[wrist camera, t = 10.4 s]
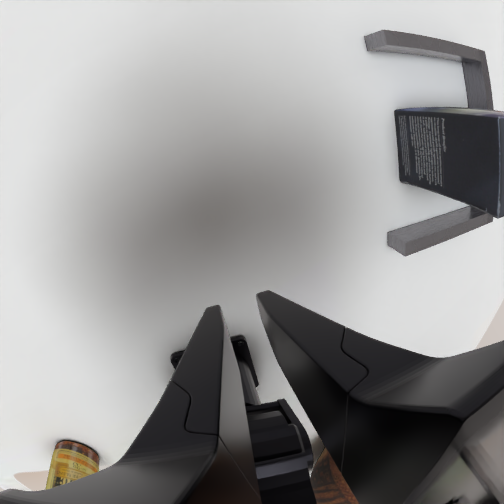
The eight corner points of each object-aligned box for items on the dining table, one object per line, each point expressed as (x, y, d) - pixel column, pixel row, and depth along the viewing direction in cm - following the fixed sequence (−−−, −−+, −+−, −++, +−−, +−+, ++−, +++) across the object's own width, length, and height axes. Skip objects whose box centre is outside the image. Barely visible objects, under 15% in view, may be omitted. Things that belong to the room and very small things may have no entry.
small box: (468, 107, 21) (556, 120, 12) (471, 170, 24) (554, 199, 14) (391, 105, 20) (501, 112, 10) (398, 184, 23) (499, 225, 13)
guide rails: (476, 213, 26) (492, 221, 24) (387, 245, 24) (405, 256, 22) (466, 52, 19) (484, 51, 16) (364, 36, 17) (383, 29, 15)
